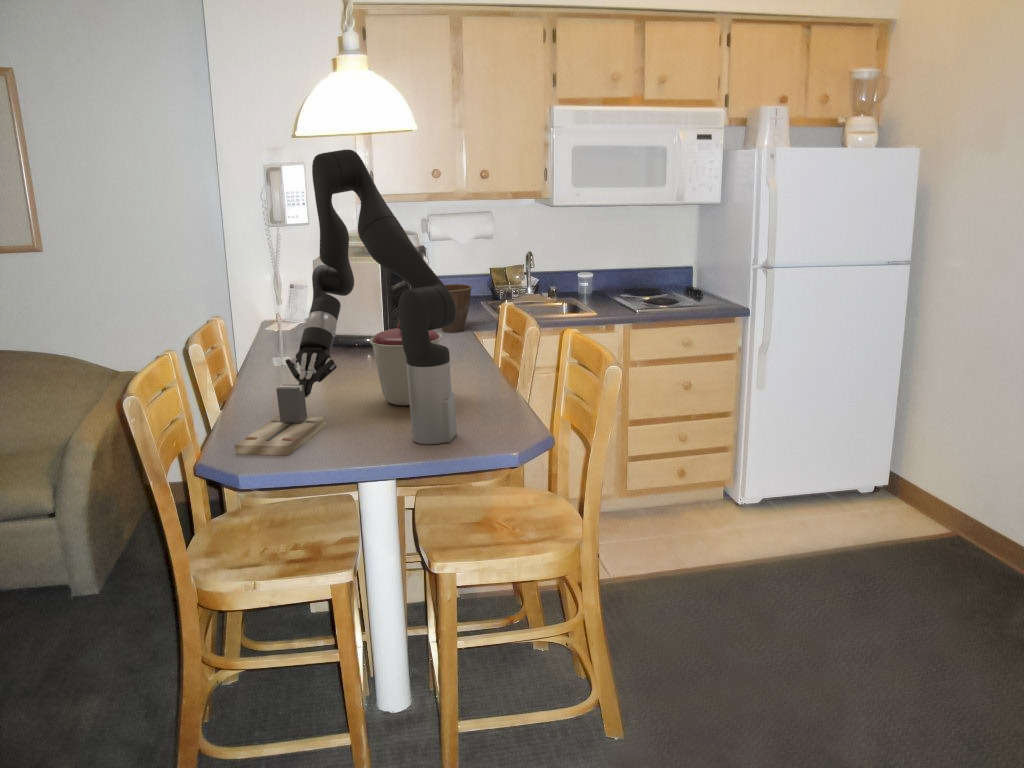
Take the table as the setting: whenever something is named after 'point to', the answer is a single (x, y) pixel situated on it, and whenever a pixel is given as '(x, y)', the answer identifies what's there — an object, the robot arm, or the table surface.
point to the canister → (394, 364)
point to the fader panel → (280, 437)
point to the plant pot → (459, 306)
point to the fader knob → (291, 403)
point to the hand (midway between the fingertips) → (302, 395)
